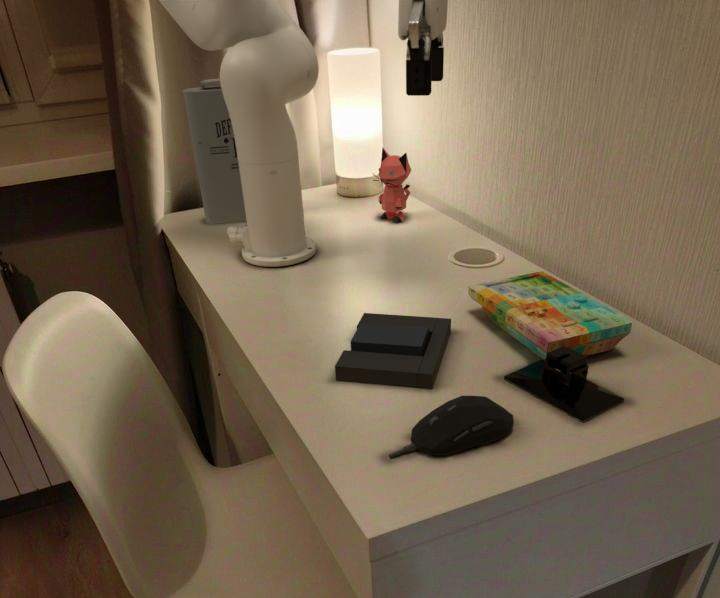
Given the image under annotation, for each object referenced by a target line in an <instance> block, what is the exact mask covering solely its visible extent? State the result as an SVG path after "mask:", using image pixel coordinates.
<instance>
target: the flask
mask: <svg viewBox="0 0 720 598" xmlns="http://www.w3.org/2000/svg"><path fill="white" fill-rule="evenodd" d="M213 84H214V85H213ZM215 84H220V77H218V78H211V79H209V78H208V79H202V80H201V81H200V83H199V85H200V87H199V86H198V87H188V88H184V89H183V90H182V94H183V99H184V104H185V105H184V106H185V108H186V115H187V122H188V126H189V132H190V138H191V143H192V148H193V149H192V150H193V156H194V160H195V166H196V172H197V178H198V185H199V189H200V195H201V200H202V207H203V212H204V218H205V222H206V224H214V225H215V224H216V225H217V224H228V223H229V224H230V223H239V222H247V220H246V213H245V206H244V199H243V191H242V184H241V177H240V170H239V163H238V158H237V151H236V144H235V138H234V132H233V127H232V123H231V119H230V115H229V112H228V109H227V106H226V103H225V99H224V96H223V93H222V89H221V85H216V86H215ZM207 85H213V86H207Z"/></svg>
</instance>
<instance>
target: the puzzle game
mask: <svg viewBox="0 0 720 598" xmlns="http://www.w3.org/2000/svg"><path fill="white" fill-rule="evenodd" d="M468 295H469V297H470V298H471V299H472V300H473V301H474V302H476V303H477V304H479V305H480V306H481V307H482V310H483V312H484V314H485V315H486V317H488V319H489V320H490V321H491V322H492V323H494V325H496V326H498V327H499V328H500V329H502V330H503V331H504V332H506V333H507V334H508V335H510V336H511V337H512V338H514V339H515V340H516V341H518V342H519V343H521V344H522V345H524V346H525V348H527V349H529V350H530V351H531V352H533V353H534V354H535V355H536V356H538V357H539V358H540V359H541V360H542V359H543V360H544V359H546V355H547V353H549V352H551V351H553V350H555V349H558V348H560V347H562V346H565V347H568V348H570V349H572V350H574V351H576V352H578V353H580V354H582V355H585V356H587V357H588V356H592V355H595V354H600V353H604V352H607V351H611V350H613V349H614V348H615V347H616V346H617V345H618V344H619V343H620V342H622V341H623V339H625V338H626V337H627V336H628V335H630V334H631V331H632V326H633V323H632V322H631V321H630V320H629V318H628V317H626V316H625V315H622V314H620V313H619V312H617V311H615V310H613V309H612V308H610V307H608V306H606V305H604V304H603V303H601V302H599V301H597V300H595V299H593V298H592V297H590V296H587V295H586V294H585V293H582V292H581V291H579V290H578V289H575V288H574V287H572V286H569V285H568V284H566V283H564V282H563V281H561V280H559V279H557V278H556V277H554V276H552V275H549V274H548V273H546V272H545V271H543V270H539V271H536V272H531V273H526V274H521V275H517V276H512V277H507V278H502V279H497V280H492V281H487V282H482V283H477V284H473V285H469V286H468Z"/></svg>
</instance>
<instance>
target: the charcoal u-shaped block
mask: <svg viewBox="0 0 720 598" xmlns="http://www.w3.org/2000/svg"><path fill="white" fill-rule="evenodd" d="M361 322H363V323H379V324H394V325H409V326H425V327H429V344H428V346H427V349H426V352H425V355H424V357H423V356H411V355H398V354H386V353H373V352H360V351H351V350H347V349H346V350H345V349H344V350H343V351H342V352H341V354H340V356H339V358H338V360H337V362H336V363H335V365H334V372H335V373H334V374H335V380H336V381H343V382H352V383H353V382H354V383H362V384H363V383H365V384H376V385H388V386H398V387H408V388H420V389H421V388H422V389H433V387H434V386H435V385H434V384H435V381H436V378H437V376H438V372H439V370H440V366H441V363H442V360H443V357H444V354H445V351H446V348H447V345H448V342H449V338H450V336H451V334H452V333H451V331H452V318H448V317H447V318H445V317H431V316H419V315H416V316H415V315H402V314H387V313H385V314H384V313H373V312H363V314H362V316H361V318H360V320H359V321H358V323H357V325H356V330H357V329H358V327H359V325H360V323H361Z"/></svg>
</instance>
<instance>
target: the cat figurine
mask: <svg viewBox="0 0 720 598" xmlns="http://www.w3.org/2000/svg"><path fill="white" fill-rule="evenodd" d="M411 172H412V168H411V165H410V163H409V158H408V154H407V152H405V153H404V154H402V155H401V156H400V155H394V154H393V155H390V154H389V153H388V152H387V150H386V149H385V148H384V147H382V150H381V159H380V166H379V167H378V176H377V175H375V173H372V175H373V176H374V177H376V179H372V181H374V182H380V183H382V184H384V187H383V192H382V193H381V194H380V195H379V196H378V203H379V204H380V205H381V209H382V211H384V212H382V215H381V216H380V220H391V219H392V224H400V223H403V222H404V221H405V220H406V218H405V214H404V210H406V209H407V201H408V199H409V197H410V195H411V191H410V190H409V188H410V187H411V185H410V184H406V185H405V186H403V183H404V182H405V181H406V180H407V179H409V176H410V174H411Z"/></svg>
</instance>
